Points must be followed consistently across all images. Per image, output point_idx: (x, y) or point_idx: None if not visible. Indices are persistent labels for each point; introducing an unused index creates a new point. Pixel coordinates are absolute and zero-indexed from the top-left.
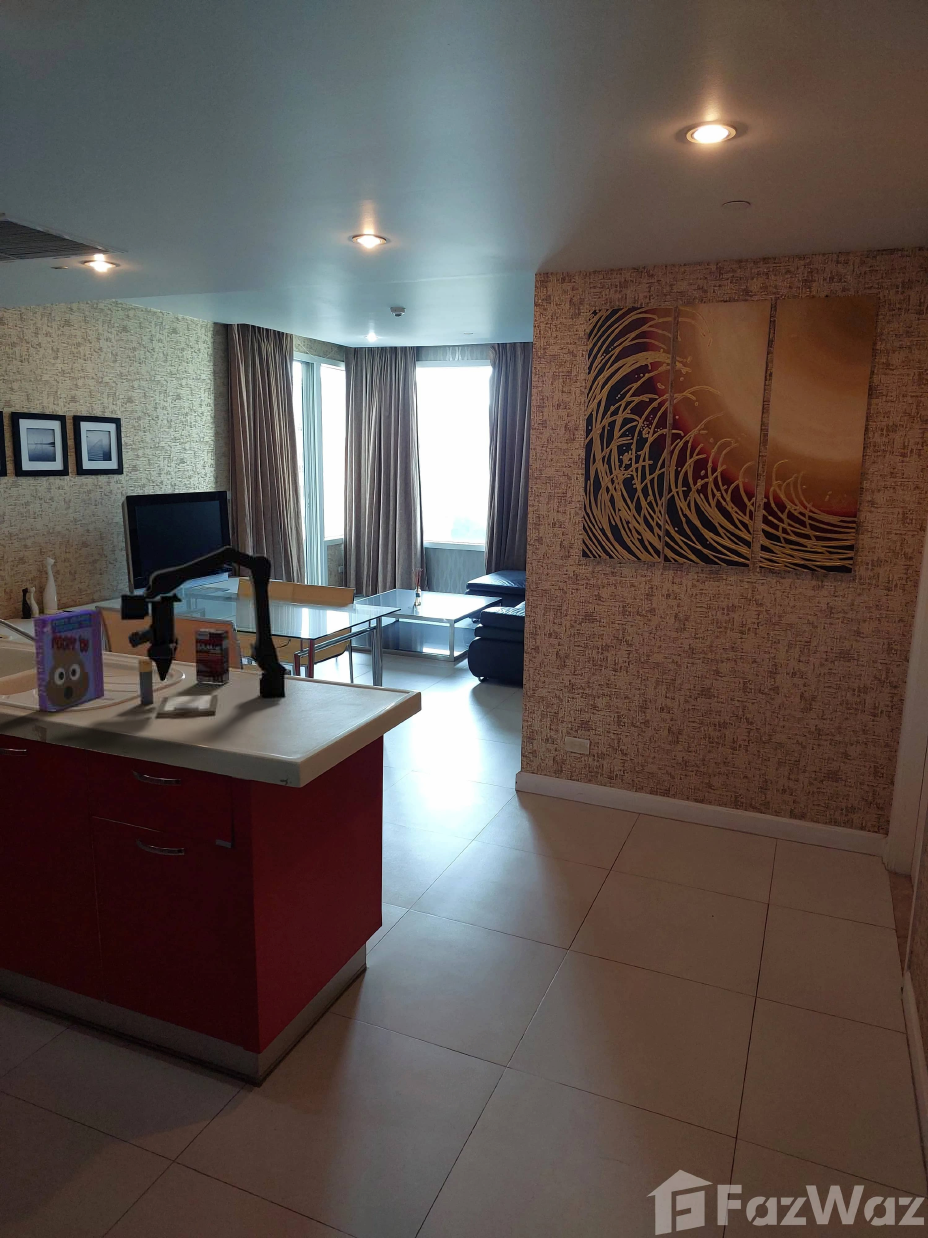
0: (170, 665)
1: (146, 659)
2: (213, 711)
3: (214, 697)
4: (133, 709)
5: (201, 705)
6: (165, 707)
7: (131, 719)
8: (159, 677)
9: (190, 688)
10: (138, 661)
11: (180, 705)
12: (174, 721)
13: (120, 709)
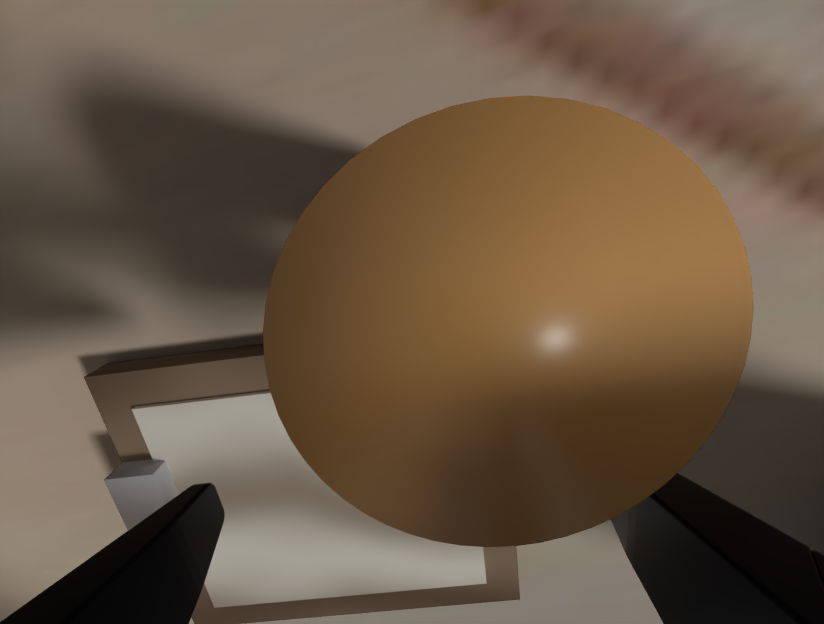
0: (652, 598)
1: (550, 394)
2: (196, 617)
3: (458, 594)
4: (275, 160)
5: (268, 570)
6: (196, 405)
7: (33, 218)
8: (156, 511)
9: (815, 408)
10: (405, 132)
11: (254, 476)
12: (61, 462)
13: (266, 51)
